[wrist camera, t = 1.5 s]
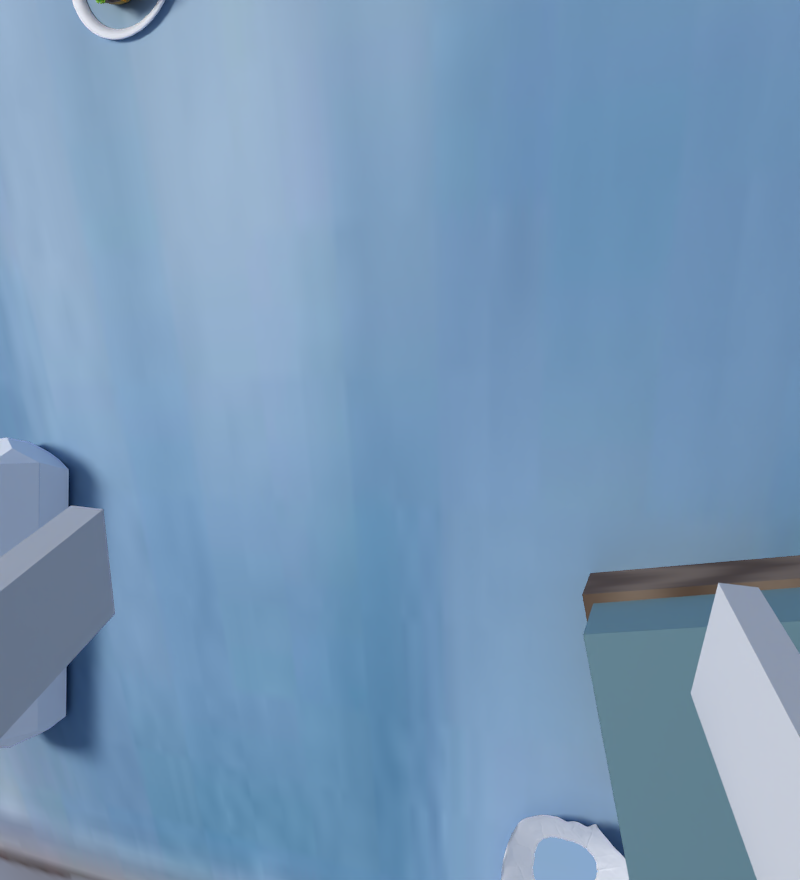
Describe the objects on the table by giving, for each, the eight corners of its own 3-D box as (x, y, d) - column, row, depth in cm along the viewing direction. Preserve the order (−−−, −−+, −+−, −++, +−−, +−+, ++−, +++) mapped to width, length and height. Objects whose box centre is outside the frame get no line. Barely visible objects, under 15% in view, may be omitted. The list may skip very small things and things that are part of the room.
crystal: (49, 771, 50) (52, 447, 47) (-58, 773, 49) (-62, 442, 46) (79, 717, 58) (83, 434, 55) (-13, 718, 57) (-14, 429, 54)
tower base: (855, 548, 34) (882, 572, 30) (898, 800, 35) (930, 858, 31) (591, 571, 39) (582, 594, 35) (630, 792, 39) (626, 842, 35)
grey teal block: (869, 581, 30) (901, 614, 26) (916, 844, 31) (955, 919, 26) (593, 603, 35) (583, 634, 31) (636, 833, 35) (632, 895, 31)
